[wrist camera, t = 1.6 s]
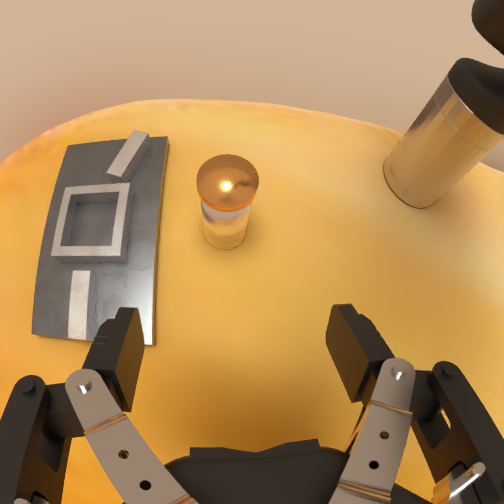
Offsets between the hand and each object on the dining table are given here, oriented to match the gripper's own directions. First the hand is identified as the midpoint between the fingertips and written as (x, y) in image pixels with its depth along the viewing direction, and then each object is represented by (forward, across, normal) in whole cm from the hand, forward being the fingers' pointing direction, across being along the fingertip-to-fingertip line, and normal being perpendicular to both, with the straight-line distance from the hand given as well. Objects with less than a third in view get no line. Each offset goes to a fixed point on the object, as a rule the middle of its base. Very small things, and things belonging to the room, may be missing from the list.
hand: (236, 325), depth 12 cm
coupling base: (+21, +14, +4) cm, 25 cm away
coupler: (+21, 0, +4) cm, 21 cm away
